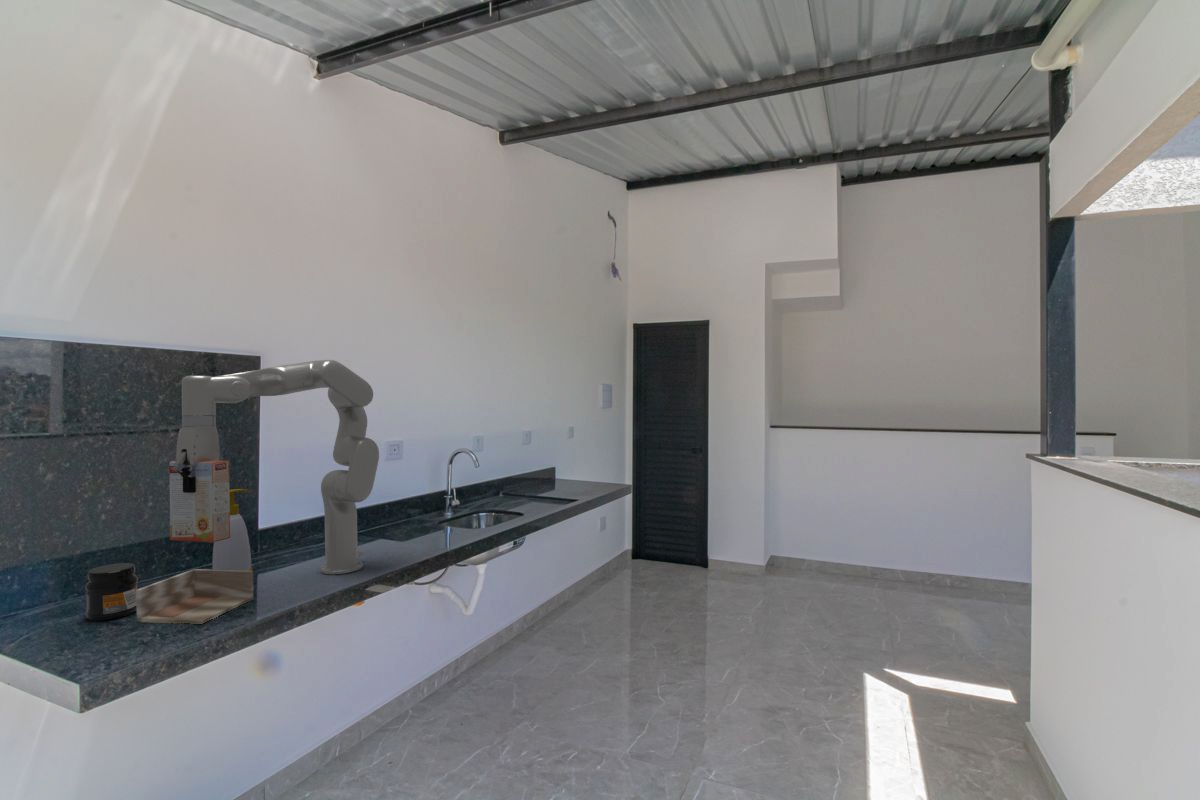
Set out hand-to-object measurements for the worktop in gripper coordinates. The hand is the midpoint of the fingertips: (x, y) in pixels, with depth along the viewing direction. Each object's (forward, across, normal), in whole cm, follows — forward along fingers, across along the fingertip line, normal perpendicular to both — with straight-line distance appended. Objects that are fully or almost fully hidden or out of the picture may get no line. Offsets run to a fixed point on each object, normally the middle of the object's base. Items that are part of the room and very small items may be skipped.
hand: (199, 489), depth 163 cm
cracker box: (+13, 0, 0) cm, 13 cm away
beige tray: (+31, +2, +1) cm, 31 cm away
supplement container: (+32, +7, -19) cm, 37 cm away
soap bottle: (+31, -29, -14) cm, 45 cm away
